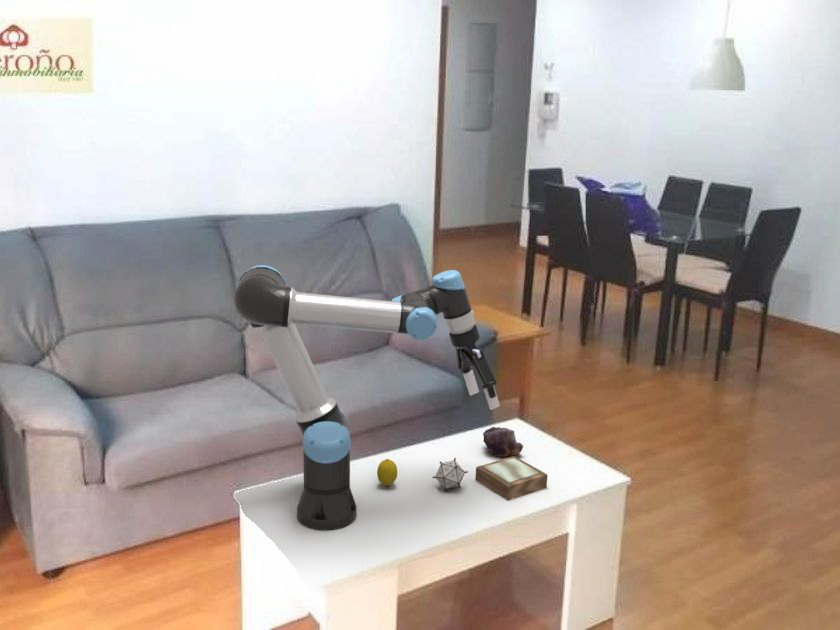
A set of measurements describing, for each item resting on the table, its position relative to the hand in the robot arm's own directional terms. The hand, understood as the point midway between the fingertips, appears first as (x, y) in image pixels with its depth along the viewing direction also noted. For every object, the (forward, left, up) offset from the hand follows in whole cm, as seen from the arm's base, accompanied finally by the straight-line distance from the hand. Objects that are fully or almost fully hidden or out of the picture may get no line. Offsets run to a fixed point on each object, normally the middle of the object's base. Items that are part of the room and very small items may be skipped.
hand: (484, 400), depth 231 cm
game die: (-7, +4, -26) cm, 27 cm away
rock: (+19, +14, -26) cm, 35 cm away
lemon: (-21, +14, -26) cm, 36 cm away
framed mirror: (+9, -3, -26) cm, 27 cm away
